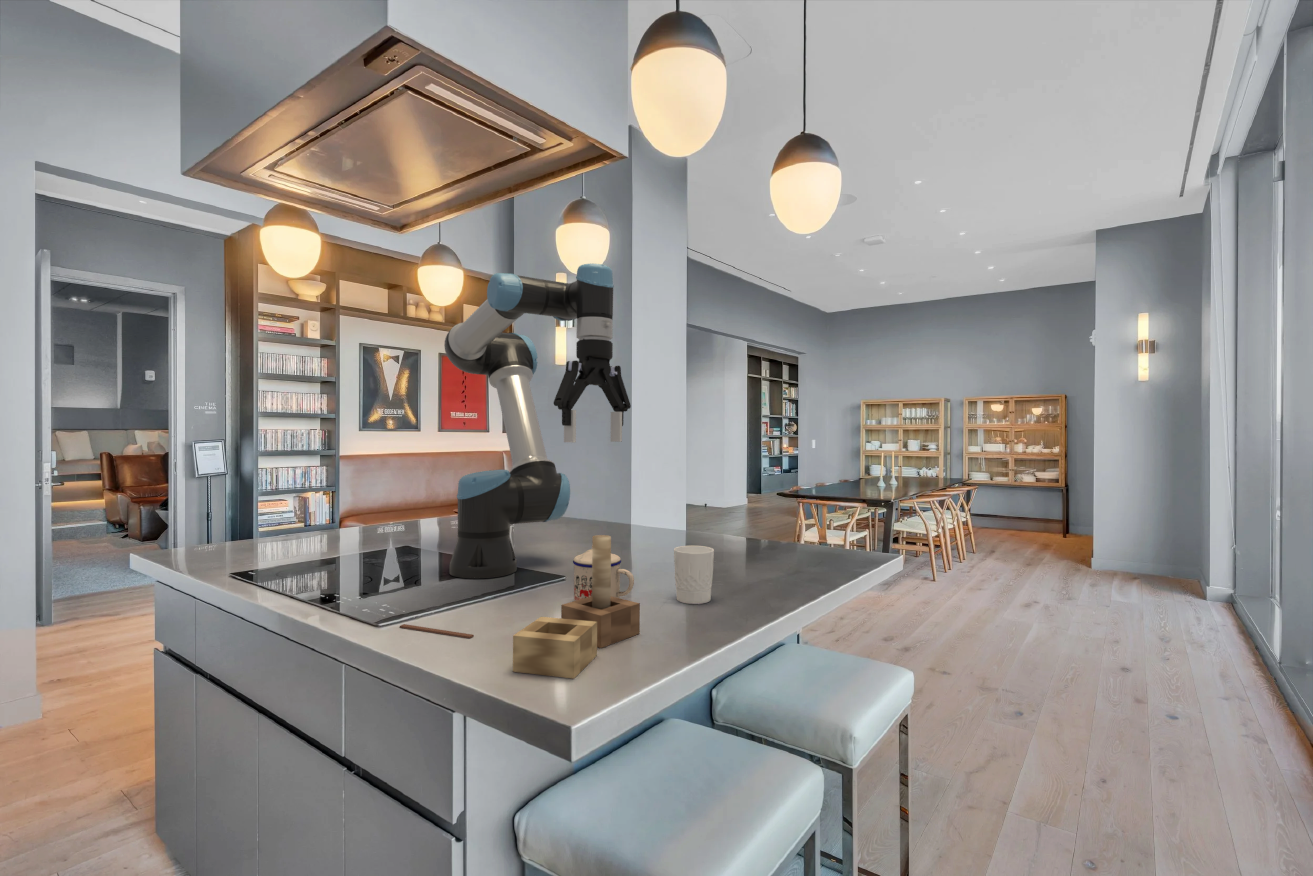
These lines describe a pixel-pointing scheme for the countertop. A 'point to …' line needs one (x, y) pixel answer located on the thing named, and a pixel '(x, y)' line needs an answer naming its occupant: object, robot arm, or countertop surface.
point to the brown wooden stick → (437, 631)
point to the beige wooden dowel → (601, 571)
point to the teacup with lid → (585, 576)
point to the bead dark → (606, 618)
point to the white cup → (693, 573)
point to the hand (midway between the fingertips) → (593, 442)
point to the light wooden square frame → (555, 647)
